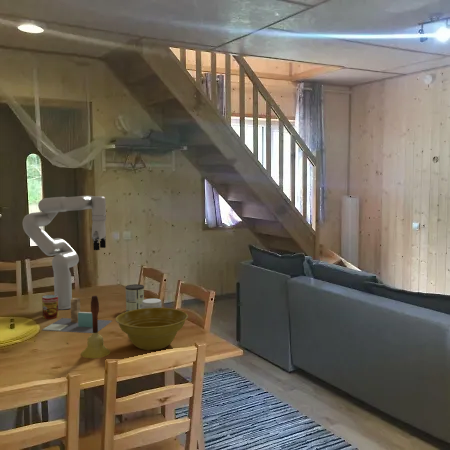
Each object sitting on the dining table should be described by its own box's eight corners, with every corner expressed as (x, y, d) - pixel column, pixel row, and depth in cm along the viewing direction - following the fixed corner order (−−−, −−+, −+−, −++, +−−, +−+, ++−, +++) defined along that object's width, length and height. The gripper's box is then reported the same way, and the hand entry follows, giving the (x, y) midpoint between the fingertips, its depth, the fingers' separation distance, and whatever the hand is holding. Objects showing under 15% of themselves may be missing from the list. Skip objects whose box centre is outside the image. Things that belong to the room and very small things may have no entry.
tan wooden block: (71, 322, 263) (70, 299, 262) (74, 320, 266) (73, 297, 265) (77, 322, 263) (77, 299, 261) (80, 320, 266) (80, 298, 265)
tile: (78, 326, 256) (77, 312, 255) (80, 325, 258) (79, 311, 257) (93, 327, 255) (93, 313, 254) (95, 326, 257) (94, 312, 256)
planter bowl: (101, 352, 222) (100, 321, 220) (140, 331, 251) (139, 304, 250) (167, 362, 210) (167, 330, 209) (199, 339, 240) (199, 311, 238)
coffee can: (128, 308, 295) (128, 284, 294) (146, 308, 294) (146, 284, 293) (123, 312, 285) (123, 287, 284) (141, 313, 284) (141, 288, 283)
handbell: (77, 358, 214) (75, 299, 212) (85, 348, 226) (84, 292, 224) (106, 358, 214) (105, 299, 212) (113, 348, 226) (112, 292, 224)
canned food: (43, 321, 268) (42, 298, 267) (42, 317, 275) (41, 295, 274) (58, 319, 271) (58, 297, 270) (57, 315, 278) (57, 294, 277)
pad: (42, 330, 250) (42, 329, 250) (51, 324, 259) (51, 324, 258) (59, 331, 248) (59, 330, 248) (68, 325, 257) (68, 324, 257)
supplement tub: (158, 325, 261) (158, 297, 259) (164, 330, 252) (164, 301, 251) (140, 328, 256) (139, 299, 255) (145, 333, 248) (145, 303, 247)
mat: (41, 331, 249) (41, 330, 249) (62, 319, 271) (62, 318, 271) (95, 334, 245) (95, 333, 245) (112, 322, 267) (112, 320, 267)
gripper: (98, 217, 294) (98, 246, 296) (86, 219, 277) (87, 251, 278) (110, 217, 293) (111, 246, 295) (100, 219, 276) (100, 251, 278)
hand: (99, 248), depth 287 cm, fingers open, 9 cm apart
